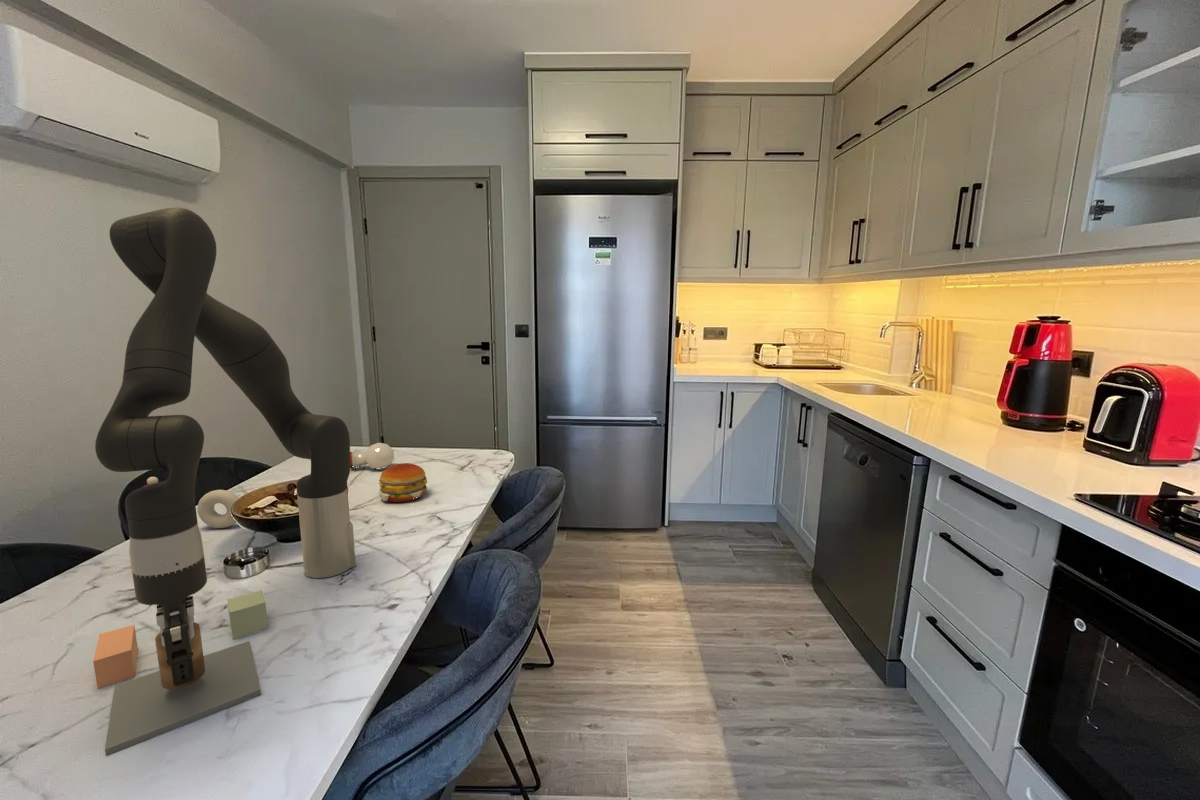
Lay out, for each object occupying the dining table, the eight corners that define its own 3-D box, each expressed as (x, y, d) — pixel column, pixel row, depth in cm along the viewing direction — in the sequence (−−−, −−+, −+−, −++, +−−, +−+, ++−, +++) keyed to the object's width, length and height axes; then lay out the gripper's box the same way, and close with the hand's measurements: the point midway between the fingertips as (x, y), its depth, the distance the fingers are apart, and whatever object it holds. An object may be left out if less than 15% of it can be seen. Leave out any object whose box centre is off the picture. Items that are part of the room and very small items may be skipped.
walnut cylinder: (204, 661, 75) (199, 618, 74) (206, 678, 71) (200, 634, 70) (162, 675, 72) (155, 630, 71) (161, 694, 68) (154, 648, 67)
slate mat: (249, 645, 83) (249, 640, 82) (261, 694, 72) (260, 689, 72) (115, 690, 72) (114, 685, 72) (105, 755, 62) (104, 749, 62)
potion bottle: (396, 473, 176) (352, 479, 175) (399, 451, 183) (357, 457, 182) (387, 457, 169) (341, 463, 168) (391, 435, 176) (347, 440, 175)
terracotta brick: (103, 660, 79) (99, 634, 78) (138, 649, 81) (134, 624, 81) (97, 689, 73) (93, 661, 72) (135, 677, 75) (131, 649, 75)
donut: (196, 531, 125) (191, 493, 123) (205, 525, 128) (200, 488, 126) (240, 529, 126) (236, 491, 125) (247, 524, 130) (243, 486, 128)
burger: (437, 495, 152) (435, 463, 150) (398, 509, 141) (396, 474, 139) (408, 486, 159) (406, 456, 157) (369, 499, 148) (366, 466, 146)
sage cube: (264, 615, 91) (261, 589, 90) (268, 628, 87) (265, 602, 86) (230, 625, 88) (227, 599, 87) (233, 640, 84) (229, 612, 83)
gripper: (206, 571, 66) (220, 688, 69) (201, 534, 77) (214, 636, 79) (127, 591, 61) (146, 715, 64) (134, 548, 72) (150, 656, 75)
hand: (184, 671), depth 72 cm, fingers closed on walnut cylinder, 4 cm apart
